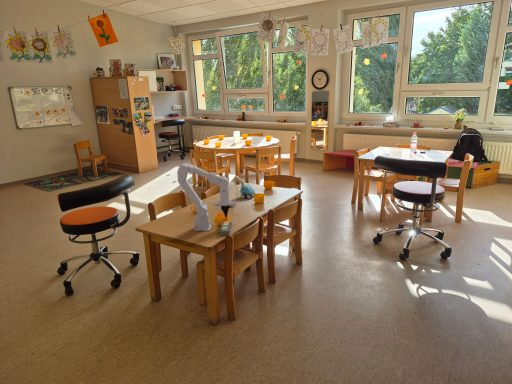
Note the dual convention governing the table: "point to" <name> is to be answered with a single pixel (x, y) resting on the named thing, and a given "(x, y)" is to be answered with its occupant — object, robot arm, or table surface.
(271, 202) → the table surface
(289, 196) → the table surface
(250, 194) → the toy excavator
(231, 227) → the grey button panel
